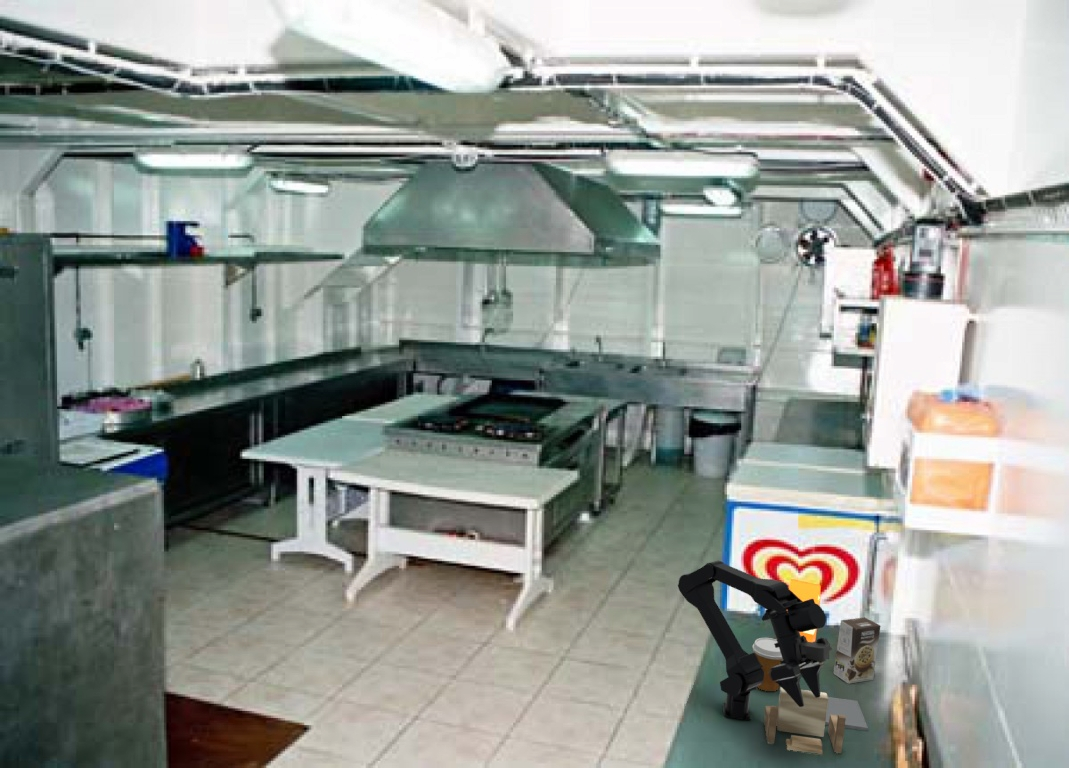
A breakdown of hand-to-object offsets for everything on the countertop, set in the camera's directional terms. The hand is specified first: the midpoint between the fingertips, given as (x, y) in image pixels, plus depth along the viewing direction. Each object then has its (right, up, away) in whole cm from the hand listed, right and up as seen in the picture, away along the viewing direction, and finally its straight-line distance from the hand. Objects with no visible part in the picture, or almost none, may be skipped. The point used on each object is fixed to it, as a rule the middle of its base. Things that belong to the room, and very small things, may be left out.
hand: (810, 701), depth 217 cm
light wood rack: (0, -11, +7) cm, 13 cm away
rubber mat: (+11, -10, +21) cm, 25 cm away
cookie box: (+25, -8, +42) cm, 49 cm away
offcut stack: (-1, -12, +3) cm, 13 cm away
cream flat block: (+1, -11, +11) cm, 15 cm away
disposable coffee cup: (-2, -7, +33) cm, 33 cm away
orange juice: (+14, -4, +60) cm, 62 cm away
